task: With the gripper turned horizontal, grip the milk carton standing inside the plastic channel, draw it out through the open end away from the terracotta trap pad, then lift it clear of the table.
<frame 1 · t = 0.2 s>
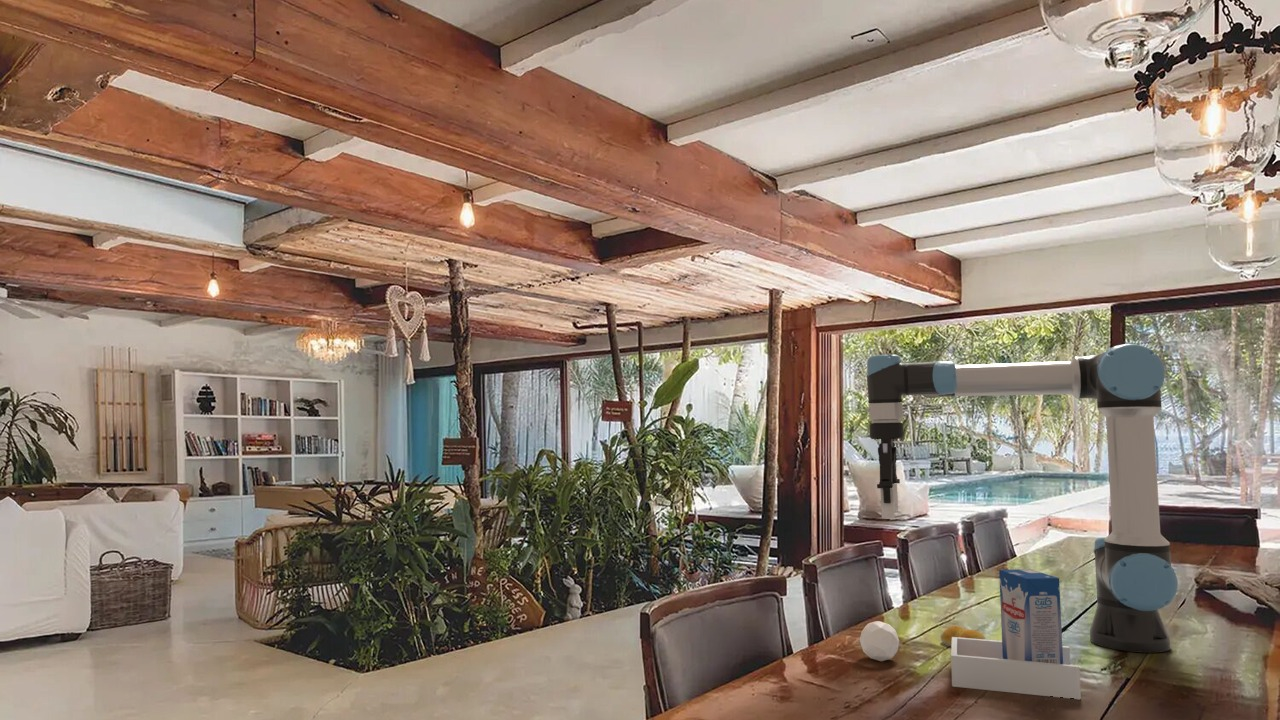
hand: (890, 515, 188), 28 cm above the table, tool pointing down, fingers open, 13 cm apart
plastic channel: (1033, 683, 153), on the table
milk carton: (1033, 684, 153), resting in plastic channel
bread roll: (963, 646, 181), on the table
geometric ball: (880, 660, 169), on the table
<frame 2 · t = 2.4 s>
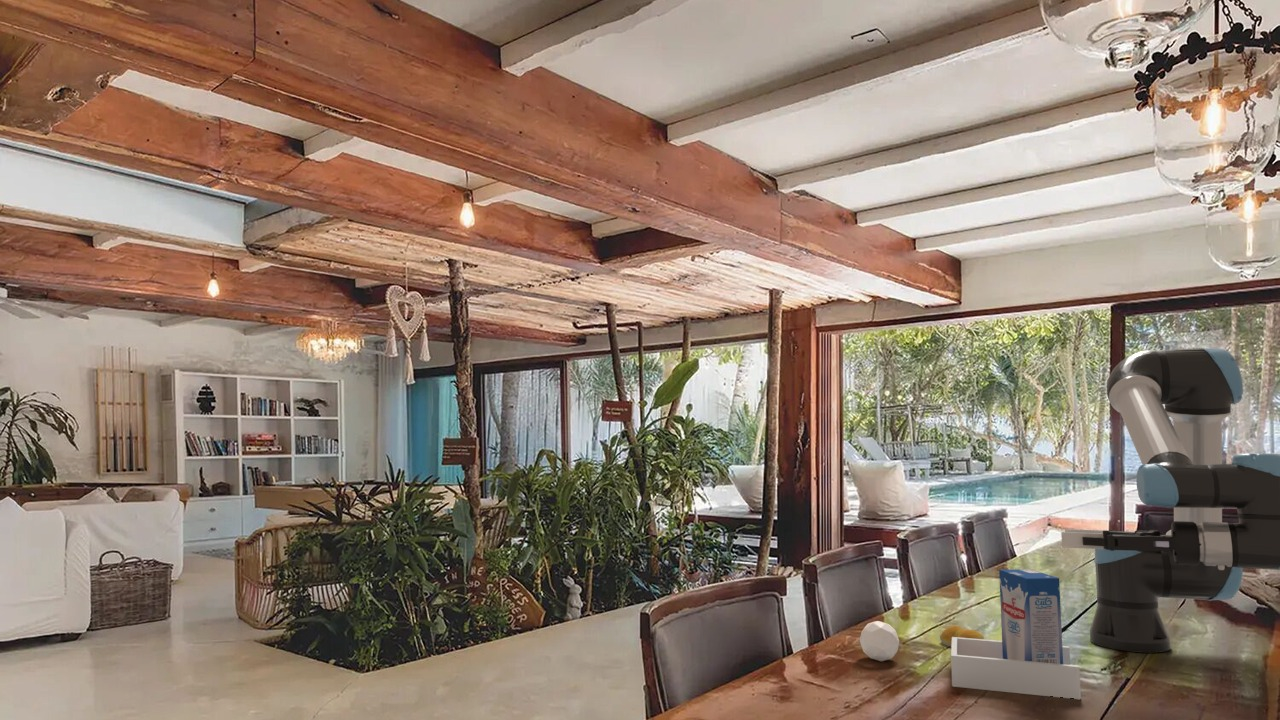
hand: (1063, 537, 155), 27 cm above the table, tool horizontal, fingers open, 13 cm apart
nothing on the table moved.
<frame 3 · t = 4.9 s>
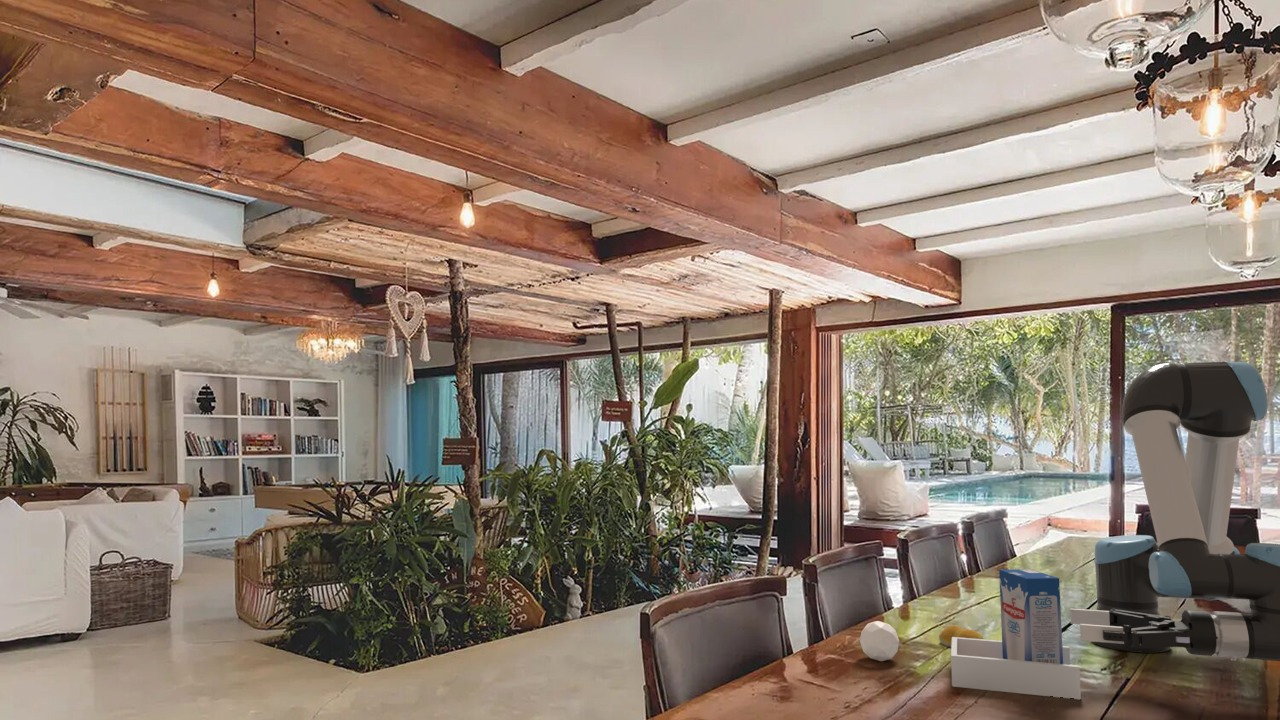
hand: (1075, 623, 150), 11 cm above the table, tool horizontal, fingers open, 13 cm apart
nothing on the table moved.
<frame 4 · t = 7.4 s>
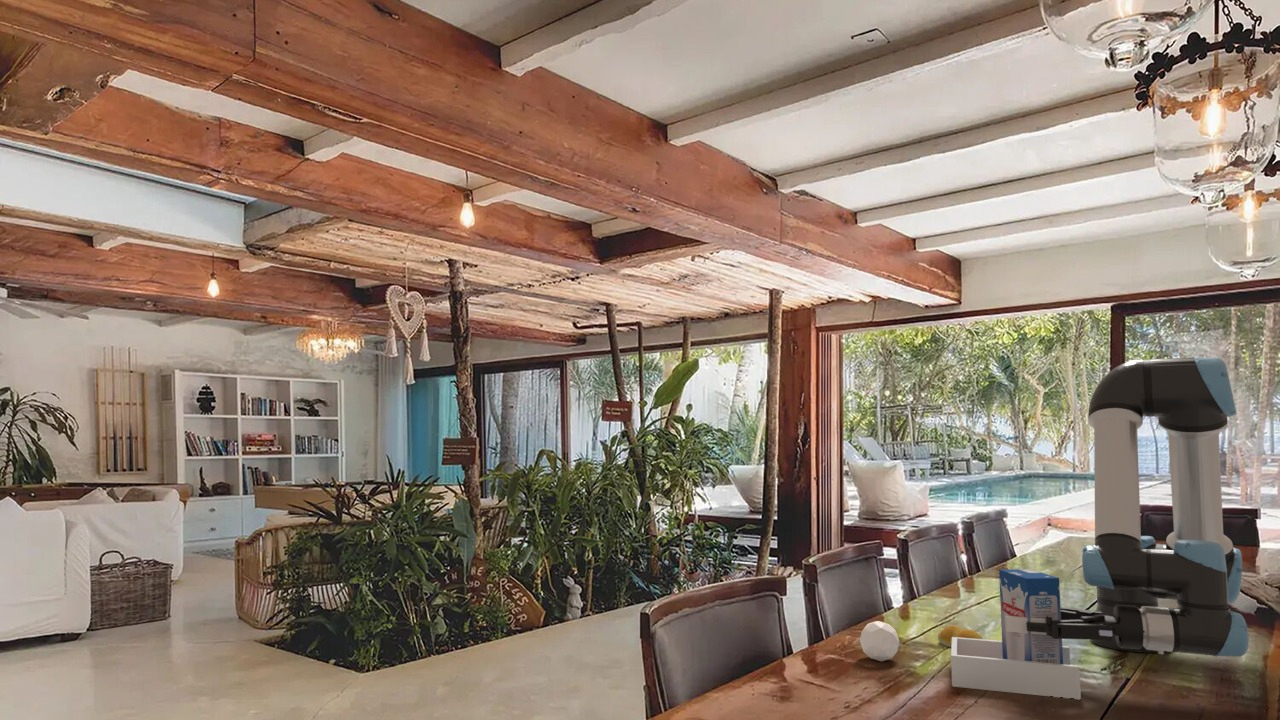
hand: (1004, 617, 155), 12 cm above the table, tool horizontal, fingers closed on milk carton, 10 cm apart
milk carton: (1033, 684, 153), resting in plastic channel, touching gripper
everything else where it was.
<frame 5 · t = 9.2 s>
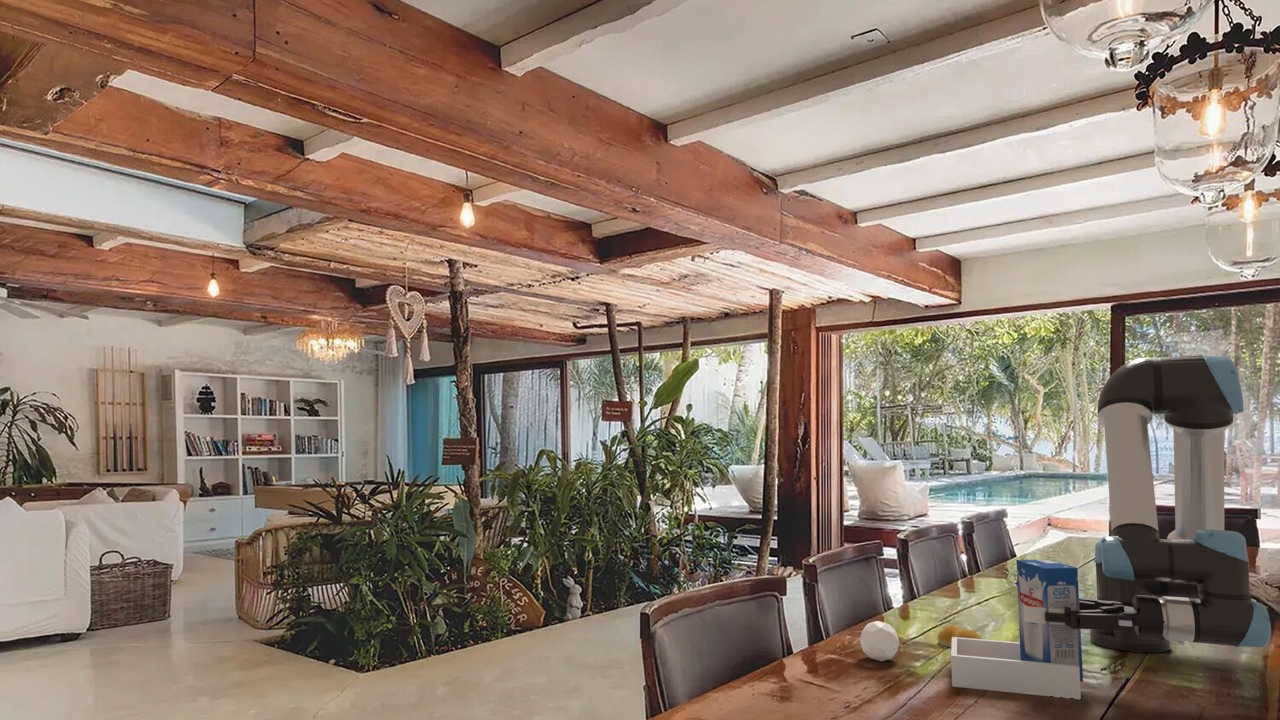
hand: (1022, 608, 154), 14 cm above the table, tool horizontal, fingers closed on milk carton, 10 cm apart
milk carton: (1051, 675, 151), point 2 cm above the table, touching gripper
everything else where it was.
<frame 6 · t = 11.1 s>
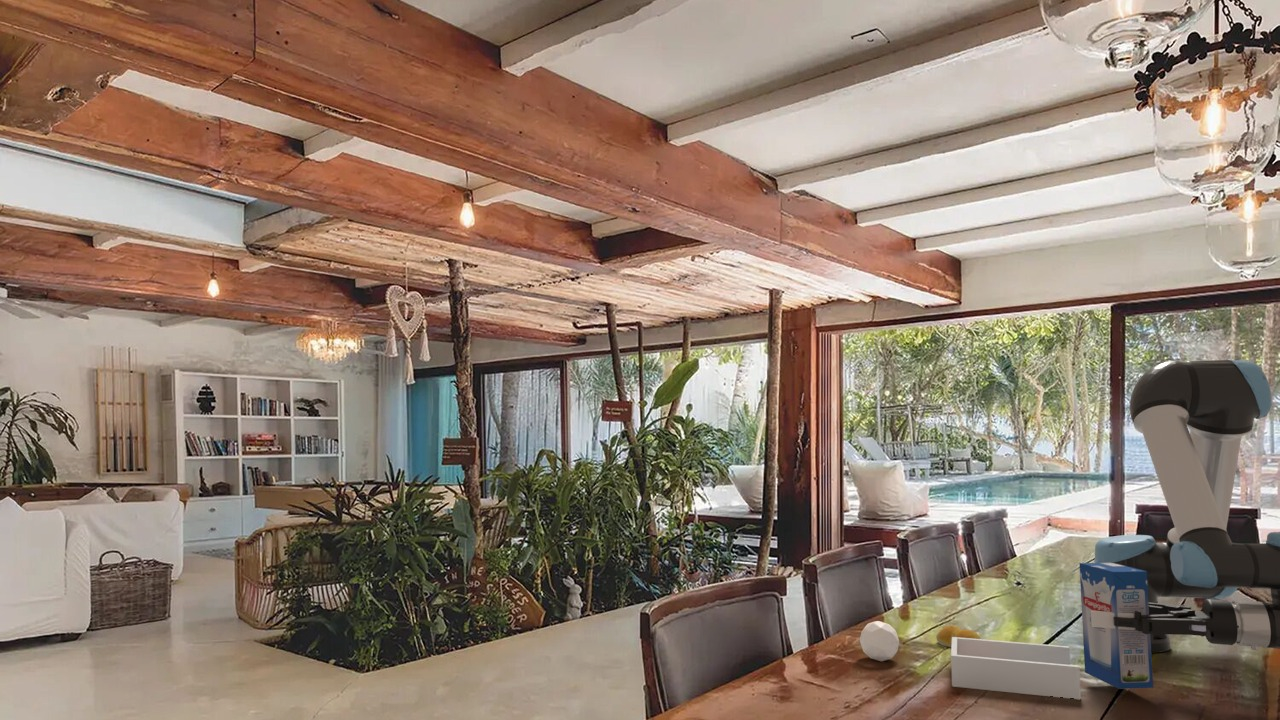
hand: (1087, 612, 150), 13 cm above the table, tool horizontal, fingers closed on milk carton, 10 cm apart
milk carton: (1118, 681, 148), point 2 cm above the table, touching gripper
everything else where it was.
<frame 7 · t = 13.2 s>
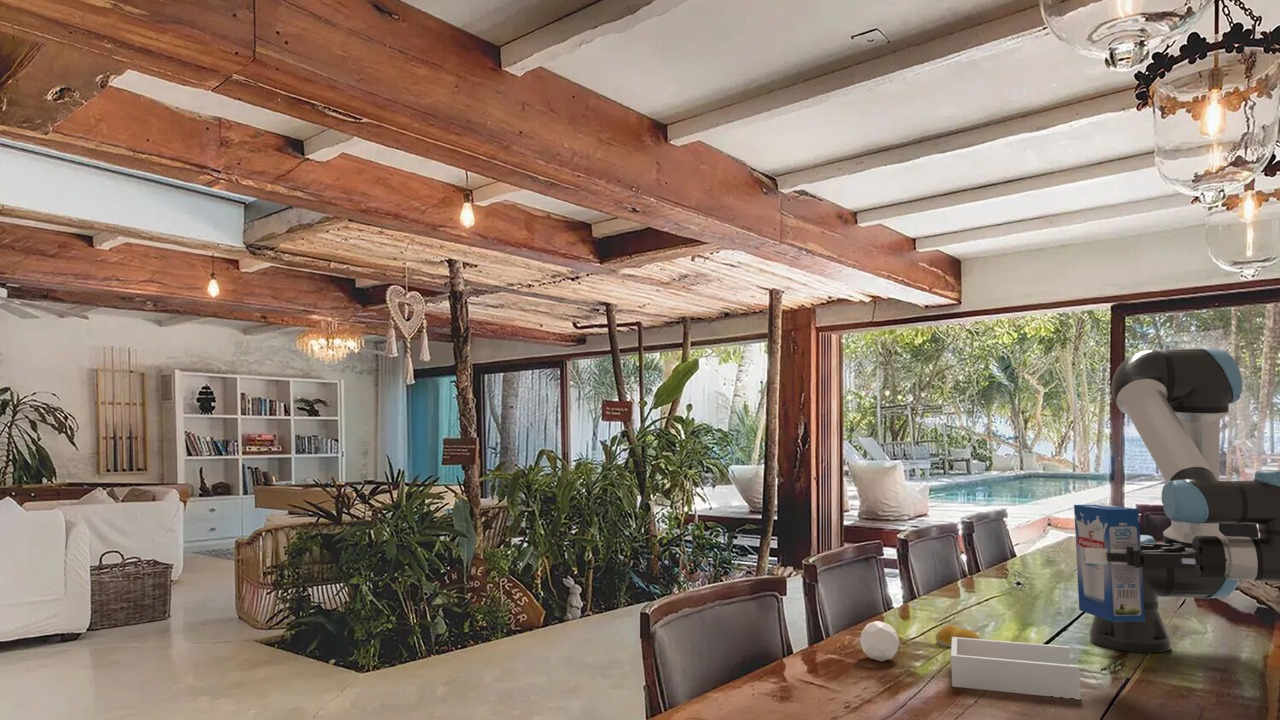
hand: (1081, 551, 155), 24 cm above the table, tool horizontal, fingers closed on milk carton, 10 cm apart
milk carton: (1111, 616, 153), point 12 cm above the table, touching gripper
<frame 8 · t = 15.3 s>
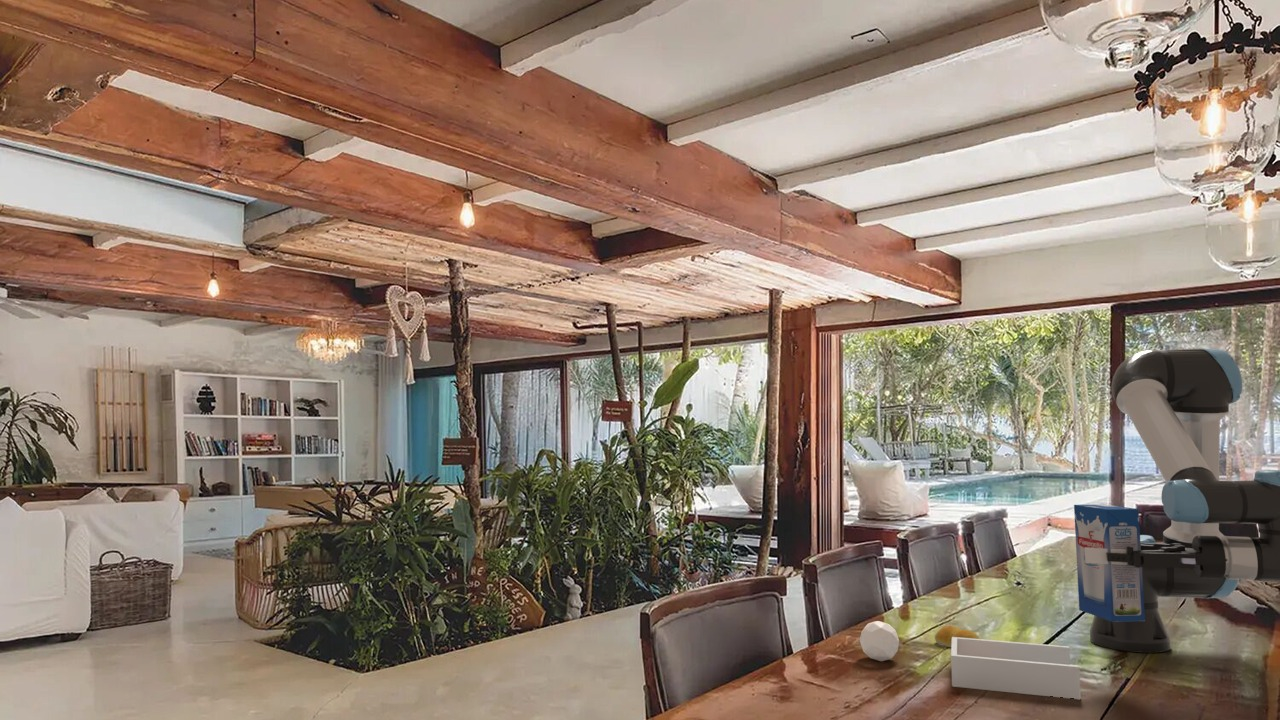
hand: (1081, 551, 155), 24 cm above the table, tool horizontal, fingers closed on milk carton, 10 cm apart
milk carton: (1111, 616, 153), point 12 cm above the table, touching gripper
at the end: the gripper is holding milk carton; milk carton inside the target area (2.7 cm from its centre), point 12.3 cm above the table; milk carton touching gripper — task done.
